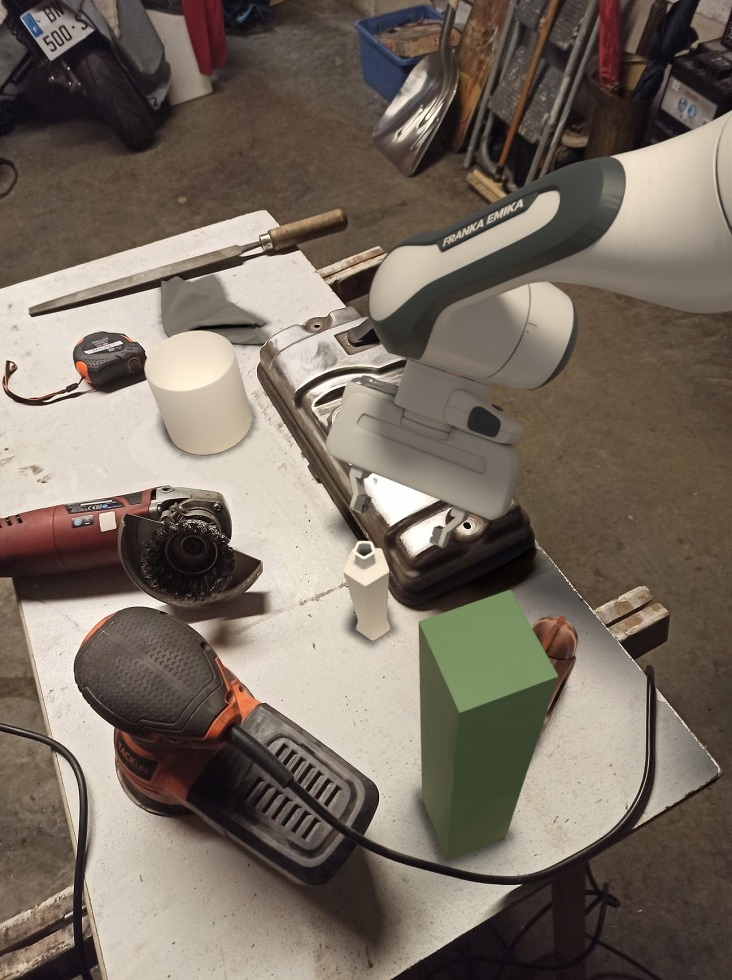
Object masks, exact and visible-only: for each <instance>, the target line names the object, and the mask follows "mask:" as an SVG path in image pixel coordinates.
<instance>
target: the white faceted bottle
mask: <svg viewBox="0 0 732 980" xmlns="http://www.w3.org/2000/svg"><path fill="white" fill-rule="evenodd" d="M342 572H343V576H344V579H345V583H346V585H347V588H348V593H349V595H350V599H351V602H352V605H353V609H354V612H355V616H356V618H357V623H356V626H355V631H357V632H358V633H360V634H361V635H362V636H364V637H366V638H367V639H369V641H373V642H374V641H375V640H377V639H379V638H380V637H382V636H383V635H385V634H386V633H388V632H389V631H391V624H390V622H389V619H388V601H389V586H390V585H389V584H390V567H389V564H388V562H387V560H386V557H385V554H384V551H383V549H382V548H380V547H375V545H374V543H373V541H371V540H358V541H357V542H356V543H355V546H354V547H353V548H352V549H351V551H350V553H349V555H348V557H347V559H346V562H345V564H344V567H343V568H342Z"/></svg>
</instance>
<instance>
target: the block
mask: <svg viewBox="0 0 732 980" xmlns="http://www.w3.org/2000/svg"><path fill="white" fill-rule="evenodd" d="M532 628H533V626H532V625H531V624H530V621H529V620H528V618H527V616H526V615H525V613H524V611H523V609H522V607H521V605H520V603H519V602H518V600H517V598H516V597H515V595H514V592H513V591H512V589H508V590H504V591H502V592H499V593H497V594H494V595H491V596H488V597H484V598H482V599H479V600H476V601H473V602H470V603H467V604H465V605H461V606H459V607H456V608H453V609H450V610H447V611H443V612H442V613H441V612H440V613H439V614H436V615H433V616H430V617H427V618H424V619H422V620H419V621H418V662H419V664H418V665H419V666H418V667H419V668H418V669H419V672H418V673H419V713H420V714H419V716H420V717H419V719H420V721H419V722H420V767H421V769H420V770H421V774H420V775H421V799H422V801H423V804H424V807H425V809H426V812H427V814H428V817H429V820H430V822H431V826H432V827H433V830H434V833H435V835H436V838H437V841H438V843H439V846H440V848H441V852H442V854H443V856H444V860H445V861H446V862H448V861H450V860H453V859H455V858H458V857H460V856H463V855H465V854H467V853H470V852H472V851H475V850H477V849H479V848H482V847H485V846H487V845H489V844H492V843H494V842H497V841H500V840H502V839H504V838H506V837H507V836H508V832H509V829H510V826H511V823H512V820H513V817H514V813H515V812H516V811H515V810H516V808H517V805H518V801H519V798H520V795H521V792H522V789H523V787H524V783H525V780H526V777H527V774H528V771H529V768H530V765H531V762H532V760H533V756H534V754H535V749H536V746H537V745H538V744H537V743H538V742H539V739H540V738H539V735H540V731H541V728H542V725H543V722H544V719H545V716H546V713H547V710H548V707H549V704H550V701H551V698H552V695H553V692H554V689H555V686H556V683H557V679H558V674H557V672H556V671H555V669H554V667H553V665H552V663H551V662H550V660H549V658H548V656H547V654H546V652H545V651H544V649H543V647H542V645H541V643H540V642H539V640H538V638H537V636H536V634H535V633H534V631H533V629H532ZM538 738H539V739H538Z"/></svg>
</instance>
